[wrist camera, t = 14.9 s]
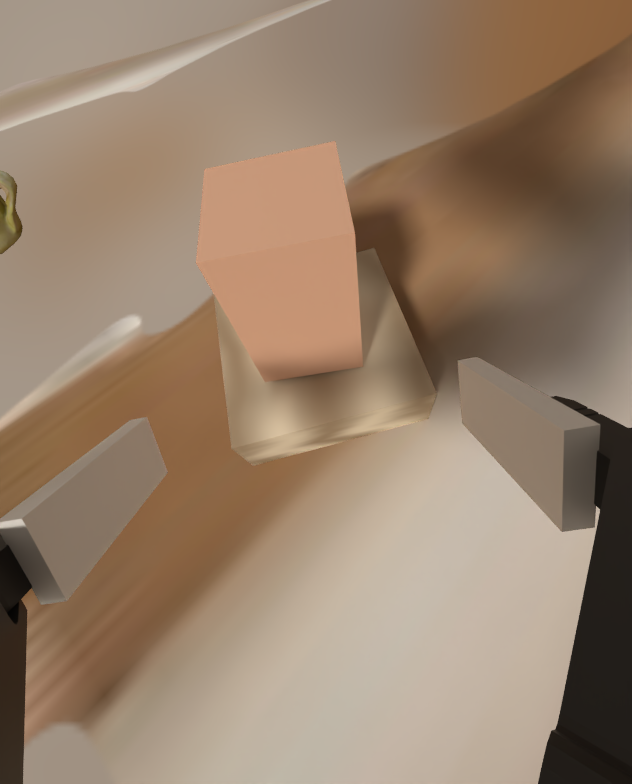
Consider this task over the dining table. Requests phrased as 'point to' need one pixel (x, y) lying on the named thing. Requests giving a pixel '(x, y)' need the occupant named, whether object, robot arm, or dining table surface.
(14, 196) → the mug
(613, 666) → the robot arm
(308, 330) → the terracotta block
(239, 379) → the ash block
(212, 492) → the dining table surface
